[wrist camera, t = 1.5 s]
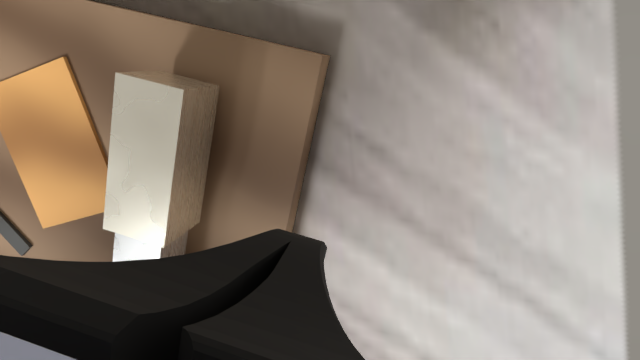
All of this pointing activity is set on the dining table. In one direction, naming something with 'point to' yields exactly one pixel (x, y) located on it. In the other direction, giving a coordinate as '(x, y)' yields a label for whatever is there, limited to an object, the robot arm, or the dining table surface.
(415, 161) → the dining table surface
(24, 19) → the board
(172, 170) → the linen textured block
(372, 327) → the dining table surface
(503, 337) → the dining table surface
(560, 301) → the dining table surface
